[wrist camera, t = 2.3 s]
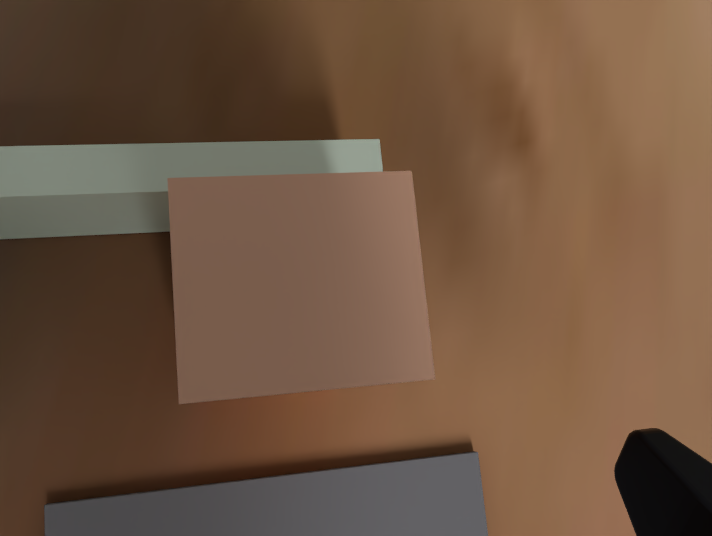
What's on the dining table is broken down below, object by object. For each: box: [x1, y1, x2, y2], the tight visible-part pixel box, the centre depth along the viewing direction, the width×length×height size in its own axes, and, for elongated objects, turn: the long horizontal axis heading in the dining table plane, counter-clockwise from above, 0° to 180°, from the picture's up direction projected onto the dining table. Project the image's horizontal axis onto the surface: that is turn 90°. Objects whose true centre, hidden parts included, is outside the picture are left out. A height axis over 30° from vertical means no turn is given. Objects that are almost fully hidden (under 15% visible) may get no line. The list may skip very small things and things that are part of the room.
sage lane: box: [0, 139, 383, 239], centre depth 18 cm, size 7×12×4 cm, turn 95°
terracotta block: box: [167, 171, 435, 404], centre depth 15 cm, size 4×4×10 cm
